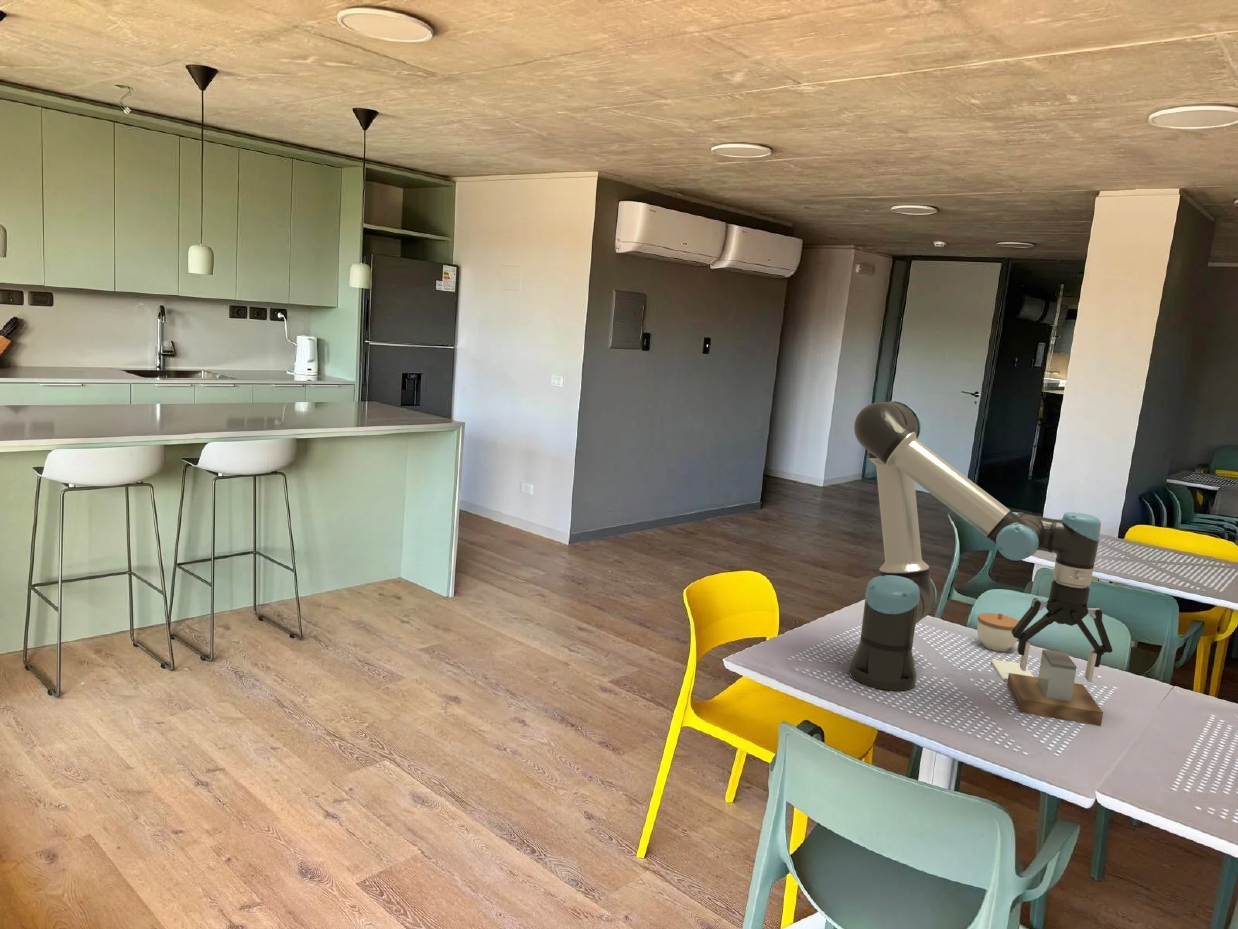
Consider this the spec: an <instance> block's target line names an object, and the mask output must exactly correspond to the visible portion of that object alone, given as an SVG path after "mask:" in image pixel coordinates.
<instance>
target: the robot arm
mask: <svg viewBox="0 0 1238 929" xmlns="http://www.w3.org/2000/svg"><path fill="white" fill-rule="evenodd" d="M921 423H922V422H921V419H920V416H919V414H918V413H917V412H916V410H915V409H914V408H913V407H912V406H910V405H908V404H907V403H903V402H901V401H893V400H892V401H891V400H890V401H885V402H882V401H881V402H873V403H871V404H868V405H866V406H865V407H863V408H862V409H861V411H859V413H858V414H857V416H856V417H855V420H854V428H853V429H854V435H855V438H856V440H857V442H858V443H859V444H860V446H862V447H863V449H865V450H866V451H867V453H868V460H869V461H870V462H871V463H873V464H874V465H875V469H876V470H875V471H876V478H877V490H878V500H879V501H878V502H879V511H880V521H881V531H882V532H881V533H882V541H883V551H884V554H883V555H884V562H883V564H882V565H881V566H880V567H879V576H875V577H873V578H872V579H871V580H869V581H868V584H867V586H866V590H865V594H864V606H863V616H862V622H861V623H862V625H861V632H860V640H859V643H858V646H856V650H855V651H854V654H853V655H852V657H851V659H850V661H849V666H848V674H849V675H850V674H851V676H852V677H853V678H855V679H856V680H855V679H854V680H855V681H857V680H858V681H860V682H862V683H861V684H862V685H865V684H867V685H866V686H868V685H869V686H868V687H871V686H872V687H871V688H874V687H875V688H874V689H879V688H880V689H879V690H884V689H885V691H896V692H897V691H901V692H902V691H908V690H911V689H913V688H914V687H915V686H916V683H917V670H916V666H915V660H914V656H913V644H914V637H915V631H916V630H915V629H916V624H919V622H920V621H921V620H923V619H924V618H926V617H927V616H928V615H930V613H931V611H932V610H933V608H934V607H935V604H936V602H937V594H938V593H937V588H936V585H935V583H934V581H933V579H932V578H931V575H930V574H931V572H930V566H929V565H928V564H927V563H926V561H924V560H923V558H922V557H923V556H922V547H921V537H920V525H919V517H918V516H919V515H918V506H917V503H918V502H917V494H916V493H917V492H916V484H915V483H917V484H918V485H919V486H921V487H922V488H923V489H925V491H927V492H928V493H929V494H931V495H932V496H933V497H934V498H936V499H937V500H938V501H939V502H940V503H942V504H944V506H946V507H948V508H949V509H950V510H951V511H952V512H954V513H955V514H956V515H957V516H959V517H960V518H962V519H963V520H964V521H965V522H967V523H968V524H969V525H971V527H973V528H974V529H975V530H977V531H979V533H981V534H982V535H984V536H985V537H986V538H988V540H990V542H992V543H994V544H995V545H996V549H997V550H998V552H999V554H1001V555H1002V556H1003V557H1004V558H1006V559H1007V560H1009V561H1010V560H1011V561H1022V560H1026V559H1028V558H1030V557H1031V556H1033V555H1034V554H1035V553H1036V552H1037V551H1042V552H1047V553H1051V554H1052V553H1053V554H1056V555H1055V556H1056V557H1055V563H1054V569H1053V574H1052V578H1053V581H1051V584H1050V585H1051V586H1050V592H1049V597H1048V600H1047V601H1043V600H1039V598H1037V597H1034V598H1033V599H1032V601H1031V605H1030V607H1029V608H1028V609H1027V611H1026V612H1025V613H1024V614H1023V616H1022V617H1021V618H1020V619H1019V620H1018V621H1019V622H1018V623H1017V625H1016V626H1015V627H1014V628H1013V630H1012V631H1011V633H1012V635H1013V636H1014V638H1017V639H1018V644H1017V653H1018V655H1020V662H1019V663H1020V668H1021V670H1022V671H1026V667H1027V665H1028V658H1029V652H1030V647H1031V643H1030V641H1029V640H1030V639H1032V638H1033V637H1035V636H1036V635H1037V634H1038V633H1040V631H1042V630H1043V629H1045V628H1046V627H1048V626H1049V625H1052V624H1053V623H1054V622H1055V623H1057V624H1058V625H1065V624H1066V625H1068V626H1072V627H1073V626H1075V625H1077V626H1078V628H1079V629H1080V631H1081V632H1082V634H1084V636H1085V638H1086V639H1087V641H1088V642H1089V644H1090V645H1091V647H1092V649H1089V652H1088V656H1087V662H1086V666H1085V668H1086V669H1085V674H1084V678H1085V679H1086V681H1087V682H1089V683H1093V678H1094V671H1095V668H1099V667H1100V665H1101V660H1102V656H1103V655H1104V654H1106V653H1109V654H1110V653H1112V652H1113V647H1112V644H1111V641H1110V640H1109V637H1108V634H1107V631H1106V628H1105V625H1104V622H1103V611H1102V610H1101V609H1100V608H1099V607H1098V606H1095V607H1093V608H1092V607H1088V601H1089V596H1090V590H1091V589H1090V587H1089V586H1091V583H1092V579H1093V574H1094V568H1095V562H1096V557H1097V552H1098V547H1099V542H1100V536H1101V535H1100V533H1101V525H1102V523H1101V520H1100V518H1098V517H1097V516H1094V515H1093V514H1092V515H1091V514H1087V513H1083V512H1082V513H1081V512H1073V511H1072V512H1071V511H1070V512H1064V513H1063V516H1062V518H1061V519H1058V518H1057V519H1055V518H1050V517H1044V516H1038V515H1033V514H1028V513H1025V512H1016V511H1012V510H1010V509H1009V508H1008V507H1006V506H1005V505H1004V504H1002V503H1001V502H1000V501H999V500H997V499H996V498H994V497H993V496H992V495H991V494H989V493H988V492H987V491H985V490H984V489H983V488H981V486H978V484H976V483H974V482H973V481H972V480H971V479H970V478H968V477H967V476H965V475H964V474H963V473H962V472H960V471H959V470H957V469H956V468H955V467H954V466H952V465H951V464H950V463H949V462H947V461H946V460H944V458H942V457H940V456H939V455H938V454H937V453H935V452H933V451H932V450H931V449H930V448H929V447H927V446H926V445H925V444H923V443H922V442H920V441H919V440H918V439H919V436H920V434H921V430H922V425H921ZM1044 608H1046V610H1047V612H1046V613H1045V614H1043V615H1042V617H1041V618H1040V619H1038V620H1037V621H1035V622H1034V623H1033V624H1031V625H1030V626H1029V624H1030V623H1031V622H1032V621H1033V620H1034V618H1035V617H1036V616H1037V615H1038V613H1039V611H1042V610H1043V609H1044ZM1087 615H1089V617H1091V619H1093V622H1094V625H1095V628H1096V630H1097V631H1096V632H1097V634H1098V636H1099V639H1100V642H1101V645H1100V644H1099V643H1098V641H1097V640H1096V638H1095V637H1094V636H1093V634H1092V632H1091V631H1090V630H1089V628H1088V627H1087V625H1086V623H1084V621H1083V619H1084V618H1085V617H1087ZM1027 627H1028V628H1027ZM851 676H850V677H851ZM852 677H851V678H852ZM853 678H852V679H853ZM858 681H857V682H858ZM860 682H859V683H860Z"/></svg>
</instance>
